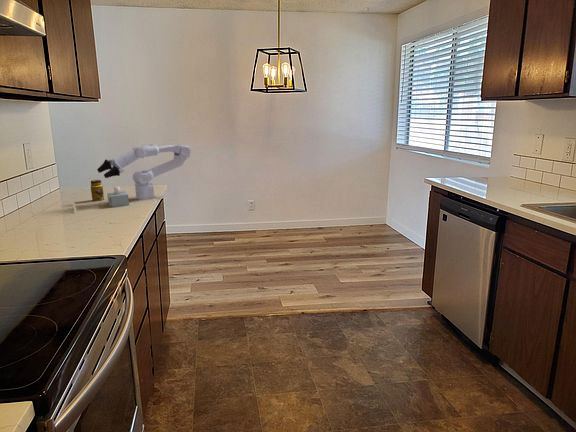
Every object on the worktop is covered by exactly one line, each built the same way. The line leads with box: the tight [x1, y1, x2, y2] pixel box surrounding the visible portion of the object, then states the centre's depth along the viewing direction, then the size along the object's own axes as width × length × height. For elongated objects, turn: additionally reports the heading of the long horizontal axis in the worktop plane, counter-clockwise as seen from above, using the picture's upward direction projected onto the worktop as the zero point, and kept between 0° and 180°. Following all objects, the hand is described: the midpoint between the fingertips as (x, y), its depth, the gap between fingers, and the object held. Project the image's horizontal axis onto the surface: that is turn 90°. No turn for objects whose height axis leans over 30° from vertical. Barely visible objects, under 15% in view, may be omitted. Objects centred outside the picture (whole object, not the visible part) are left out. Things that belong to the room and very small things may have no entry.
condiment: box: [90, 179, 105, 202], centre depth 239 cm, size 7×8×12 cm
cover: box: [106, 186, 130, 208], centre depth 227 cm, size 9×10×9 cm
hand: (101, 173), depth 226 cm, fingers open, 7 cm apart
